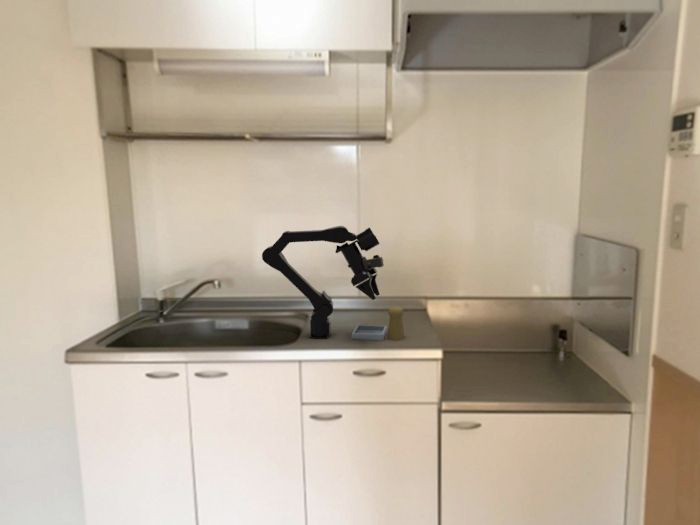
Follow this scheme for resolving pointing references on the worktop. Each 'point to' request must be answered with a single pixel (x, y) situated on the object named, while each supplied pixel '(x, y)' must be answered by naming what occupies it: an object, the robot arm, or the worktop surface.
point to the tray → (369, 332)
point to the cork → (395, 324)
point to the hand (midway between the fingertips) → (376, 297)
